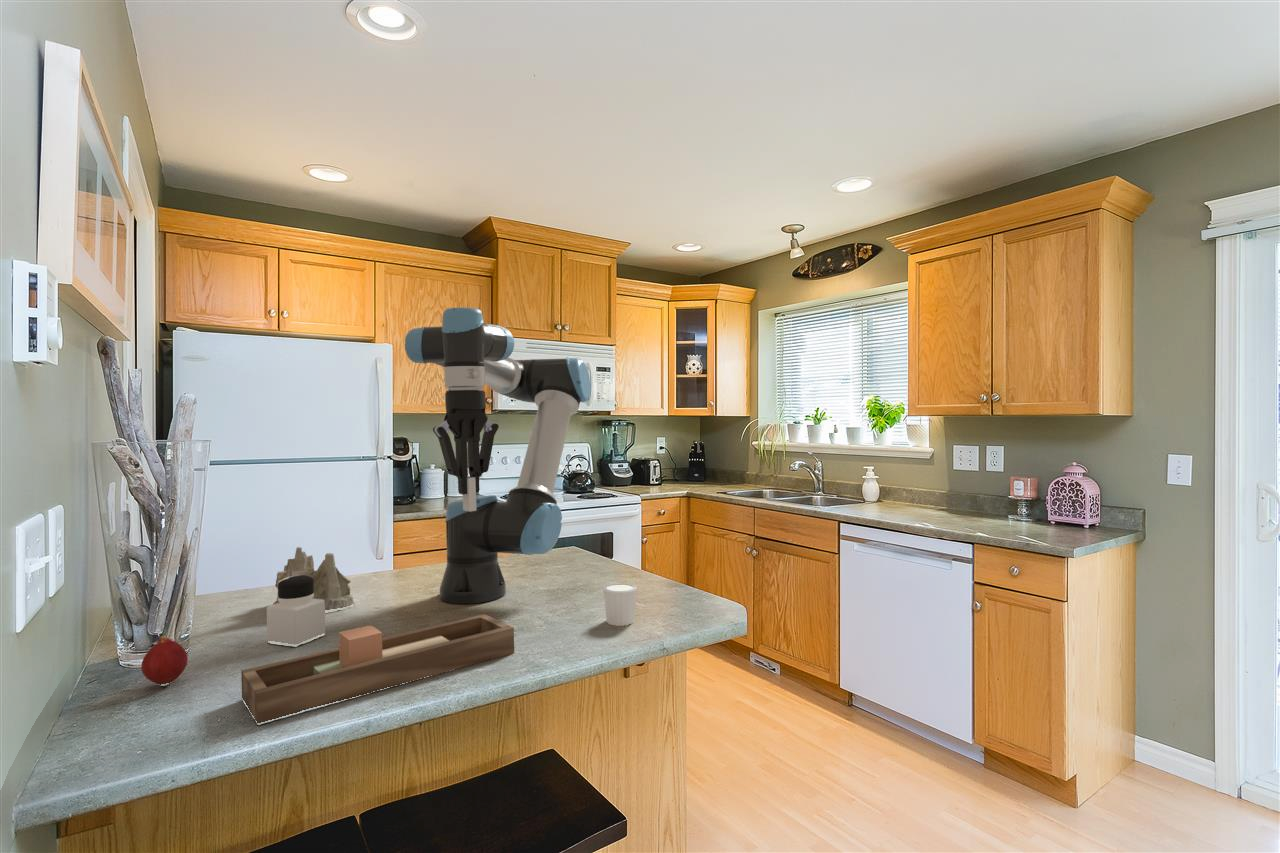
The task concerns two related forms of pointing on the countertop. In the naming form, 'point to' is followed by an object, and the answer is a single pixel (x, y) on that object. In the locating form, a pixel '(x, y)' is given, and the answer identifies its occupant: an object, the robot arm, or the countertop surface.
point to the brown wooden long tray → (372, 666)
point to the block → (359, 645)
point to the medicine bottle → (295, 612)
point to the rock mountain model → (320, 579)
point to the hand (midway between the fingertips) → (469, 510)
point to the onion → (164, 661)
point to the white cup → (620, 604)
